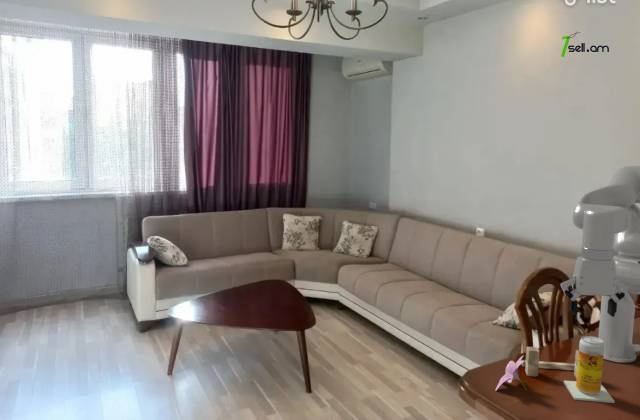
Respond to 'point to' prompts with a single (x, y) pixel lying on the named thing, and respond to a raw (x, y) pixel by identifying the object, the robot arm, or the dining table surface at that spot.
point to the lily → (511, 373)
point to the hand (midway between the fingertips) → (592, 314)
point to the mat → (577, 395)
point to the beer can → (590, 365)
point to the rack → (545, 363)
